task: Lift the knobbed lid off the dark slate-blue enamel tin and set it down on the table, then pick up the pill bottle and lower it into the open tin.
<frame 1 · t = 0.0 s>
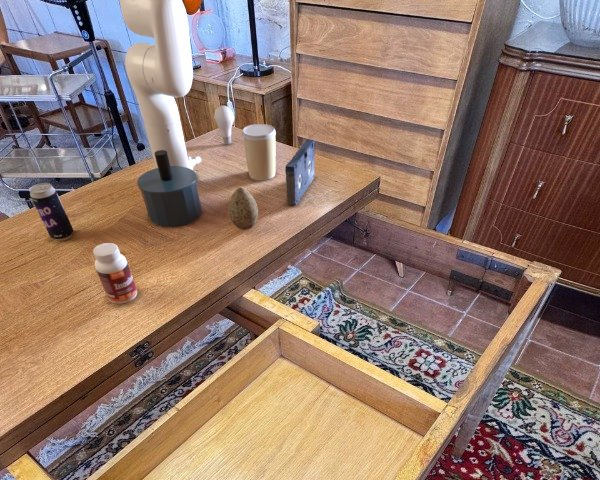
tin: (175, 213, 116), on the table
tin lid: (167, 180, 110), point 8 cm above the table, touching tin
coffee cup: (262, 175, 130), on the table
pill bottle: (123, 296, 94), on the table
decorative egg: (245, 228, 111), on the table
lightbulb: (227, 145, 145), on the table
vhs cassette tape: (301, 191, 123), on the table
beverage can: (63, 237, 110), on the table
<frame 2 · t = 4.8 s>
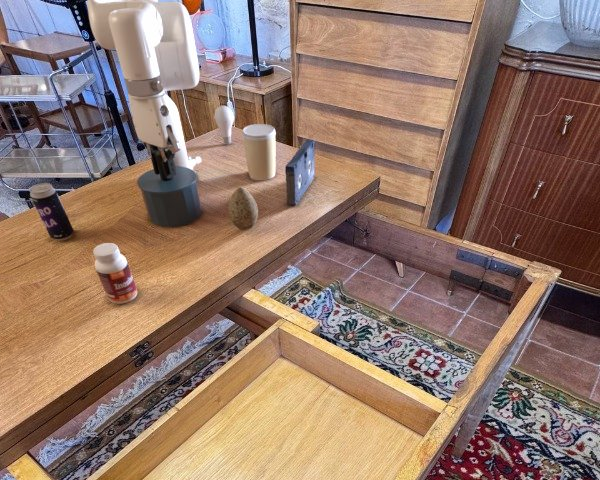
hand: (165, 173, 108), 10 cm above the table, tool pointing down, fingers closed on tin lid, 3 cm apart
tin lid: (167, 180, 110), point 9 cm above the table, touching gripper, tin
everything else where it was.
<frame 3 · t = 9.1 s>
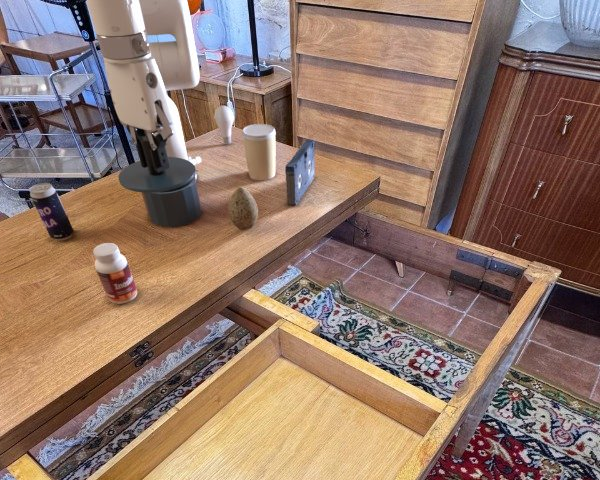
hand: (155, 166, 84), 22 cm above the table, tool pointing down, fingers closed on tin lid, 3 cm apart
tin lid: (158, 175, 85), point 20 cm above the table, touching gripper
everything else where it was.
when the fingers open (2 cm above the table, at t = 13.4 s): tin lid stays where it is, point 1 cm above the table.
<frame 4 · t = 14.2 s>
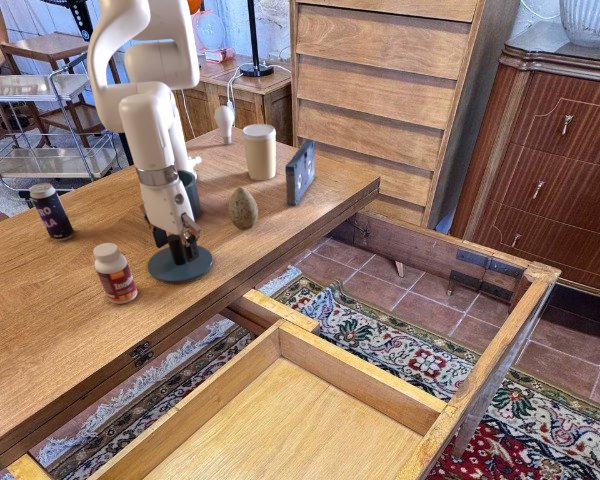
hand: (177, 252, 98), 3 cm above the table, tool pointing down, fingers open, 9 cm apart
tin lid: (180, 263, 100), point 1 cm above the table
everything else where it was.
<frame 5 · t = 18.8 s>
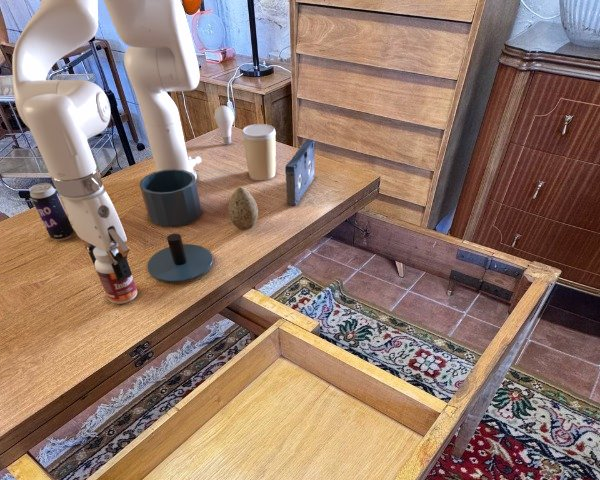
hand: (113, 271, 89), 6 cm above the table, tool pointing down, fingers closed on pill bottle, 6 cm apart
pill bottle: (123, 296, 94), on the table, touching gripper
everything else where it was.
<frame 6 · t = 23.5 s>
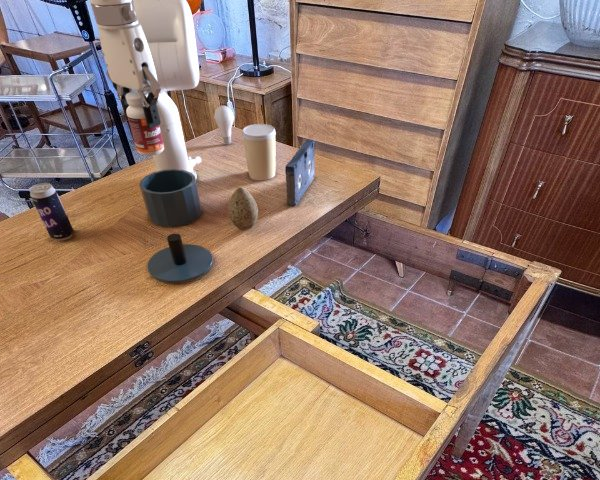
hand: (143, 121, 96), 23 cm above the table, tool pointing down, fingers closed on pill bottle, 6 cm apart
pill bottle: (151, 151, 100), point 17 cm above the table, touching gripper
everything else where it was.
when the fingers open (6 cm above the table, at t = 28.3 s): pill bottle stays where it is, resting on tin.
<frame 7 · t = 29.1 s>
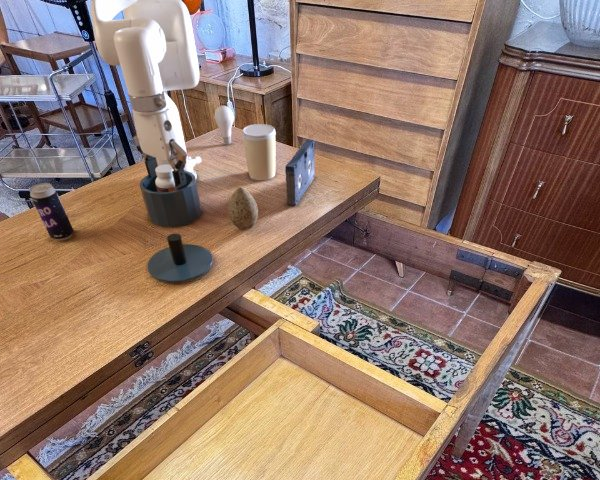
hand: (167, 180, 110), 8 cm above the table, tool pointing down, fingers open, 9 cm apart
pill bottle: (175, 212, 116), resting on tin
everything else where it was.
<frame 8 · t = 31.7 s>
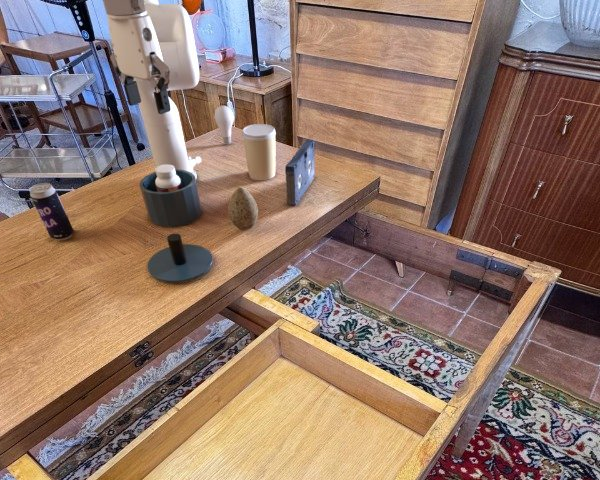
hand: (149, 108, 97), 24 cm above the table, tool pointing down, fingers open, 9 cm apart
nothing on the table moved.
at the end: tin lid inside the target area (0.1 cm from its centre), point 0.6 cm above the table; pill bottle inside the target area in the tin (0.1 cm from its centre), point 0.3 cm above the tin's base; pill bottle tilted 0° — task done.
